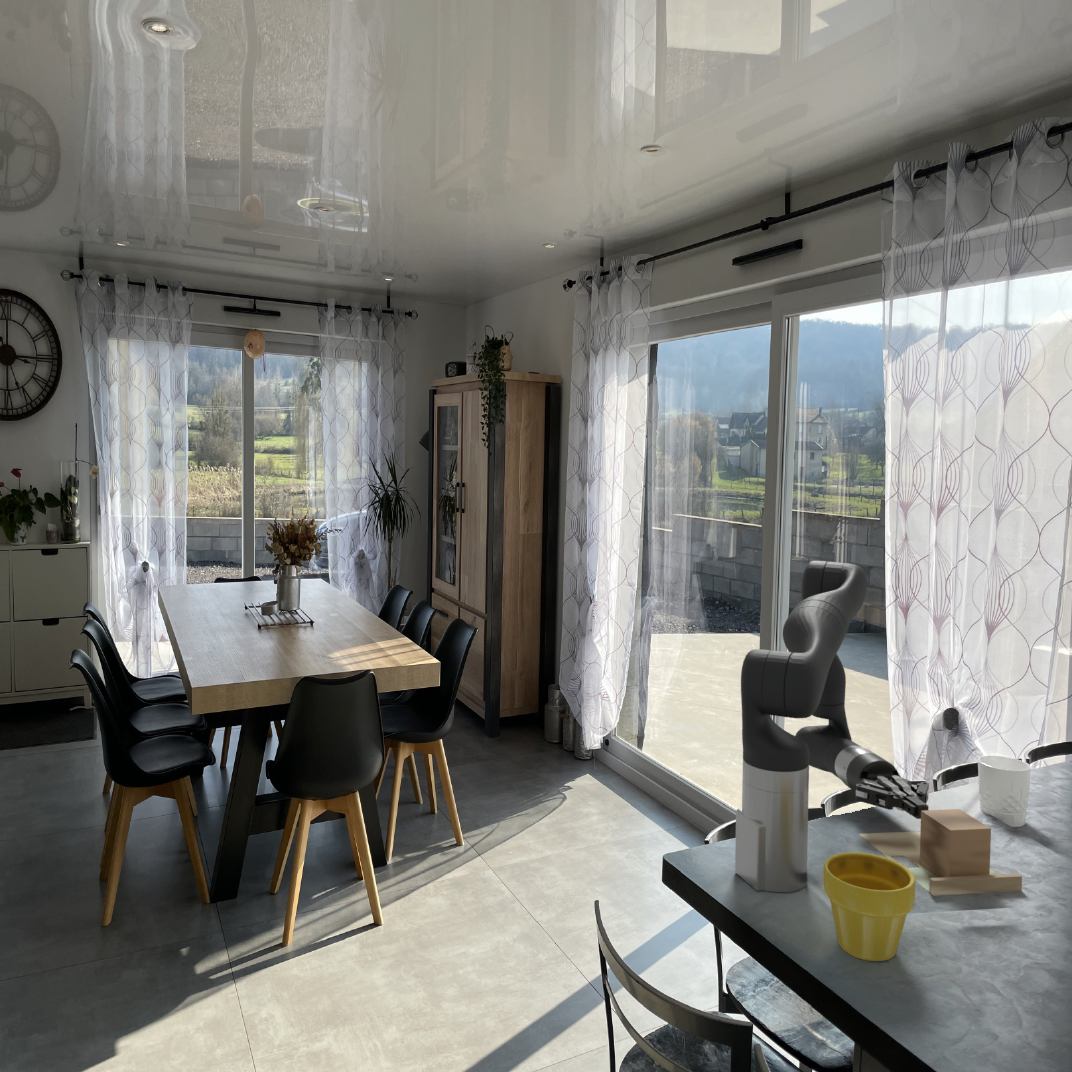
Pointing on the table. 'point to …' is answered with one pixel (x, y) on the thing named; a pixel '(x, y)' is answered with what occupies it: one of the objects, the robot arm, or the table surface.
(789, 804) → the robot arm
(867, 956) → the plant pot
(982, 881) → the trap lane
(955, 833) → the walnut block
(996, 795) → the white cup
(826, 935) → the table surface
